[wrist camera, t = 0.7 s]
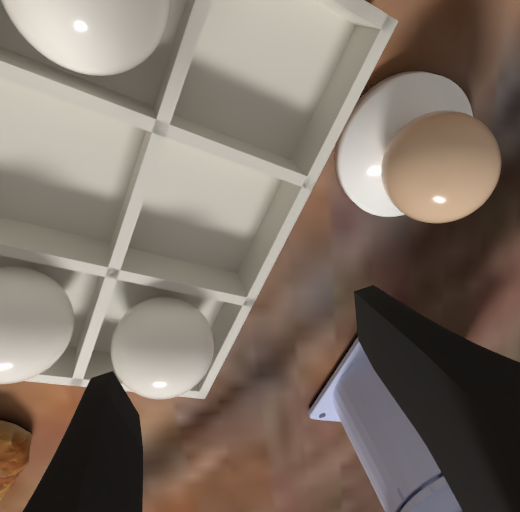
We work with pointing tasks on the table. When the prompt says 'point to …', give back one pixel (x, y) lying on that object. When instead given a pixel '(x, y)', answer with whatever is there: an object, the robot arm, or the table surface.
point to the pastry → (12, 453)
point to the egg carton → (176, 161)
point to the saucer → (387, 131)
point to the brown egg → (441, 166)
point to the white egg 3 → (162, 347)
